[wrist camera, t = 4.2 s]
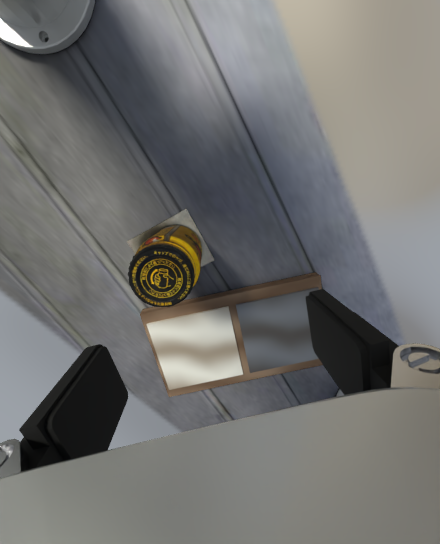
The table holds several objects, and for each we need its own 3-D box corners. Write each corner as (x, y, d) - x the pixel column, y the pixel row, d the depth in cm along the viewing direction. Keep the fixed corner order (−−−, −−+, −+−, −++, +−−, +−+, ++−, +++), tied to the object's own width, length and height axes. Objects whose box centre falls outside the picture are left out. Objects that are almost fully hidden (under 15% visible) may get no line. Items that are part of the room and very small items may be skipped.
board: (143, 309, 32) (139, 315, 30) (315, 272, 31) (321, 276, 30) (170, 389, 36) (168, 398, 34) (323, 357, 35) (328, 365, 34)
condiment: (214, 259, 30) (219, 295, 19) (158, 288, 31) (130, 340, 20) (186, 208, 28) (171, 213, 17) (127, 241, 29) (74, 267, 17)
